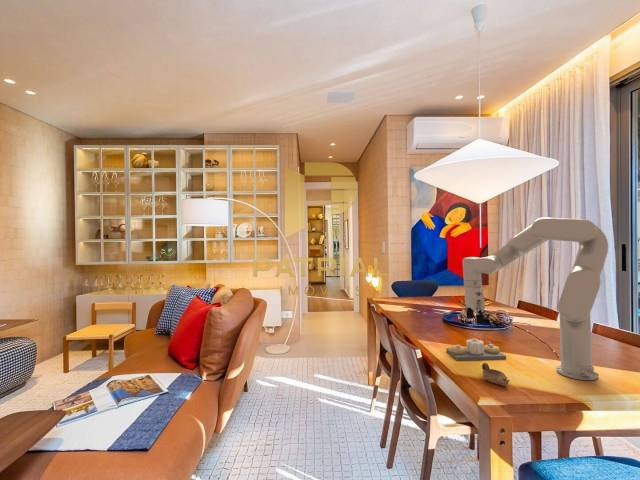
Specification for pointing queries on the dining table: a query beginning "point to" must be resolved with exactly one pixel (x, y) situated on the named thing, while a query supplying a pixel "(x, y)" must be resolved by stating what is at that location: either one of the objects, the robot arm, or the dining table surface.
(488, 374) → the brown duck figurine
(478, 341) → the loose gear
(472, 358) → the gear board
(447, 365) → the dining table surface
